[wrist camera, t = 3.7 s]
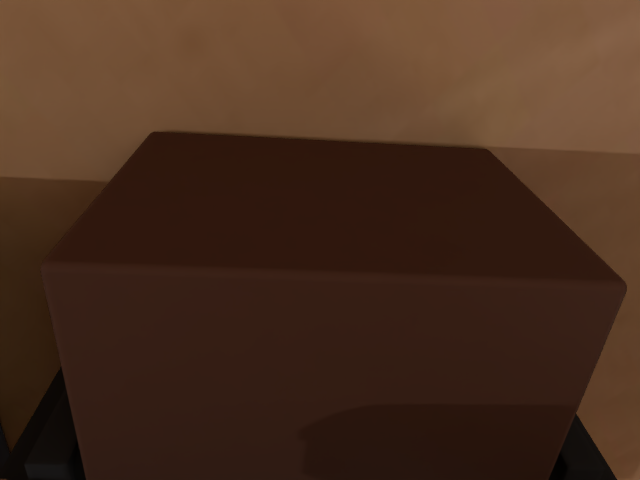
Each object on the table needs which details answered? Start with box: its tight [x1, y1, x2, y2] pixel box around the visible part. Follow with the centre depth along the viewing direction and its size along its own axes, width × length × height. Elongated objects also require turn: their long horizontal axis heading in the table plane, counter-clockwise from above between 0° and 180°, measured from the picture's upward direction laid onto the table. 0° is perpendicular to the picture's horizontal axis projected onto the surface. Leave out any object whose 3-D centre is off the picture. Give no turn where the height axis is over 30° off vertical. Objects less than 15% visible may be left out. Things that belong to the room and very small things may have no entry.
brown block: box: [41, 132, 627, 480], centre depth 9 cm, size 6×9×4 cm, turn 176°
